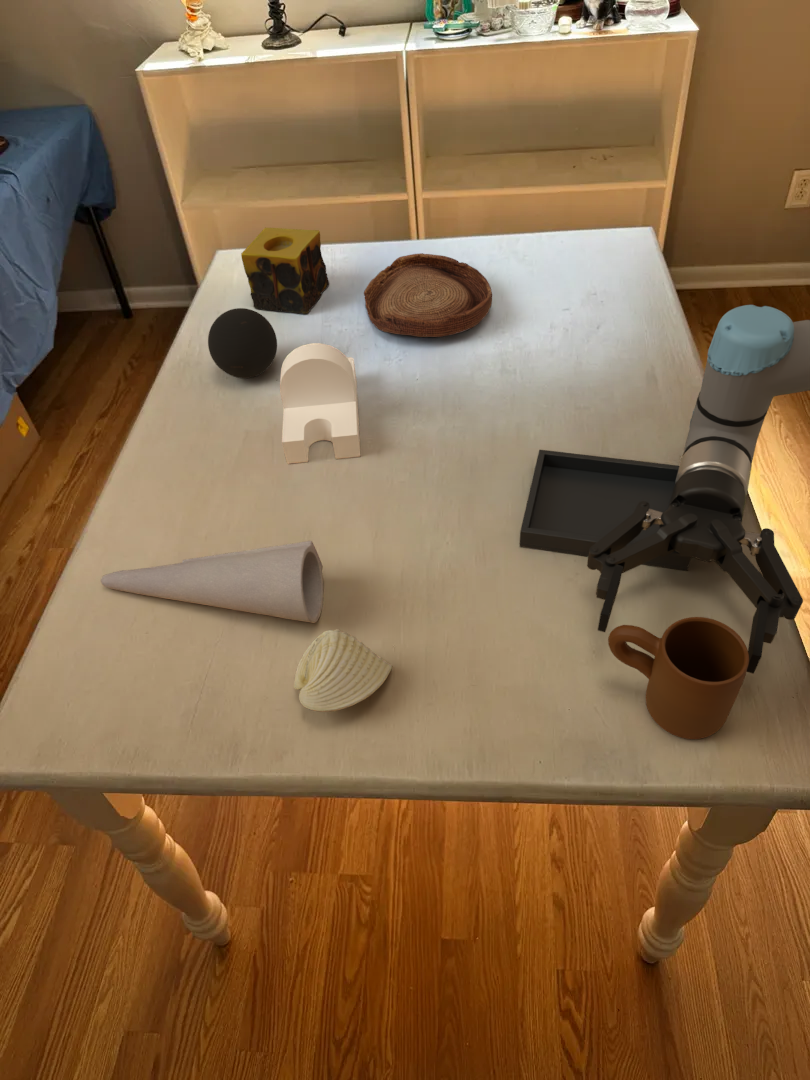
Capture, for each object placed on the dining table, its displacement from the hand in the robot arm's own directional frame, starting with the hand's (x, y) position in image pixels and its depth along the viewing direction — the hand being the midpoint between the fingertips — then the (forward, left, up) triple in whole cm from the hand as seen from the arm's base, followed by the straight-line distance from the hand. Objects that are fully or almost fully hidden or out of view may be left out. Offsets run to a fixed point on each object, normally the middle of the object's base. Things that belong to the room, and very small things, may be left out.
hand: (675, 643), depth 73 cm
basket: (+75, +5, -6) cm, 75 cm away
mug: (-2, +1, -6) cm, 7 cm away
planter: (+22, +44, -6) cm, 50 cm away
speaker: (+67, +35, -6) cm, 76 cm away
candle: (+87, +26, -6) cm, 91 cm away
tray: (+23, -4, -6) cm, 24 cm away
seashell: (+7, +31, -6) cm, 33 cm away
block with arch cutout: (+52, +26, -6) cm, 59 cm away
